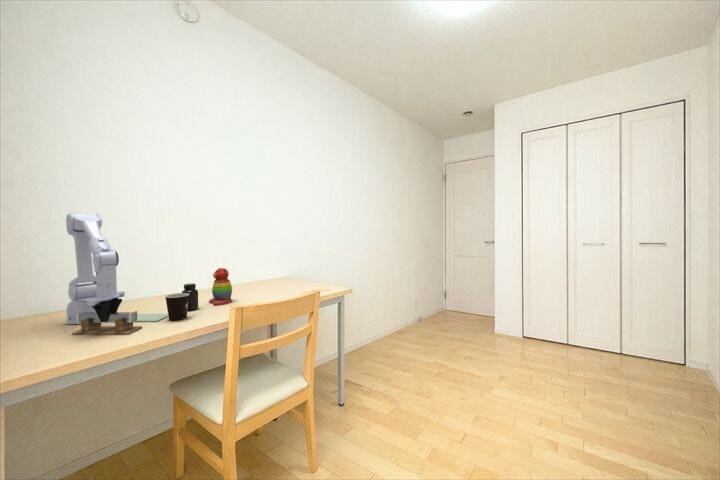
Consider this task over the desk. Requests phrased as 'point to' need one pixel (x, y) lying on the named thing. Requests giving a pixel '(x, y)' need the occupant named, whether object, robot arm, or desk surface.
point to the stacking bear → (221, 288)
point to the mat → (150, 317)
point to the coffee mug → (177, 306)
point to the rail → (112, 316)
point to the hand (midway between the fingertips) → (107, 320)
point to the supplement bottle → (191, 296)
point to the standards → (106, 328)
